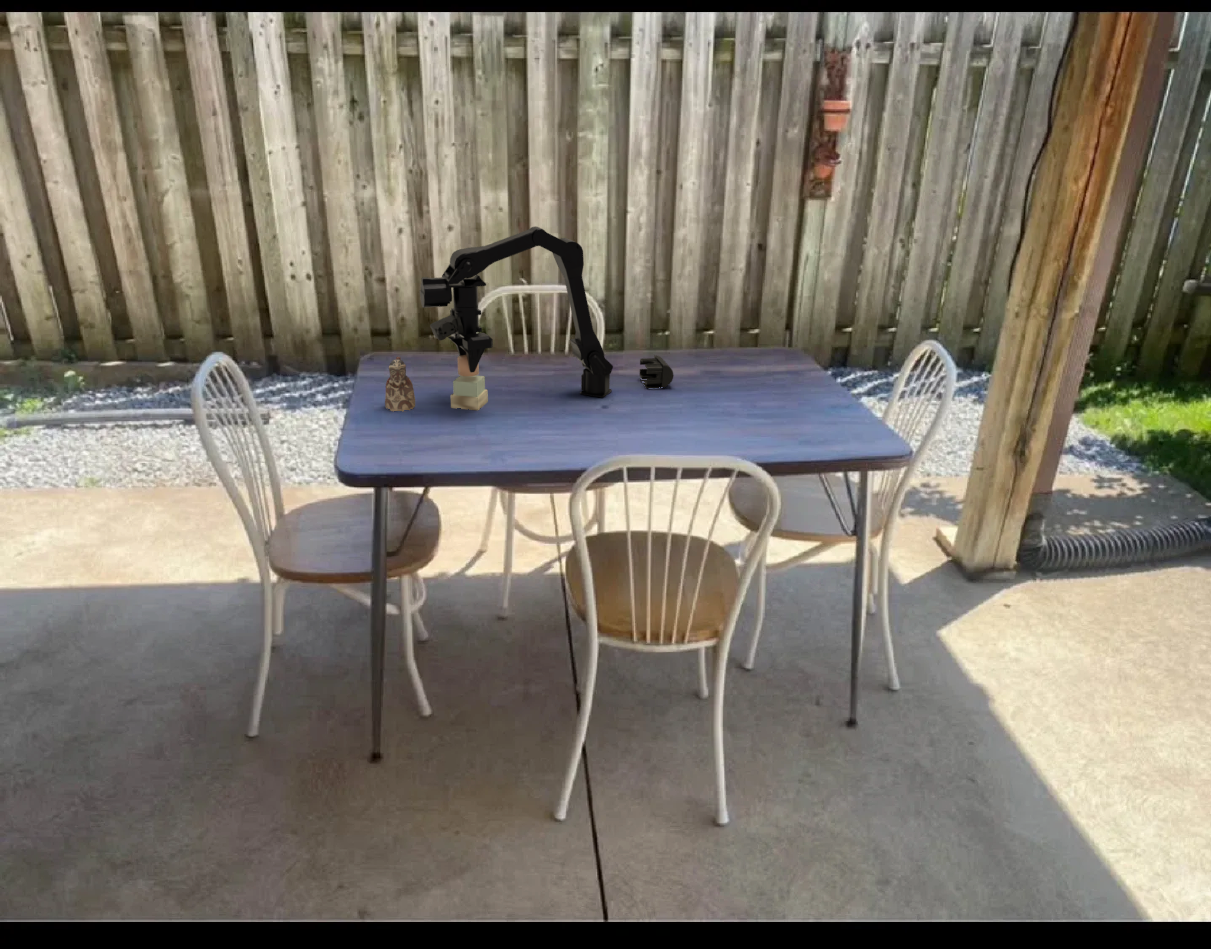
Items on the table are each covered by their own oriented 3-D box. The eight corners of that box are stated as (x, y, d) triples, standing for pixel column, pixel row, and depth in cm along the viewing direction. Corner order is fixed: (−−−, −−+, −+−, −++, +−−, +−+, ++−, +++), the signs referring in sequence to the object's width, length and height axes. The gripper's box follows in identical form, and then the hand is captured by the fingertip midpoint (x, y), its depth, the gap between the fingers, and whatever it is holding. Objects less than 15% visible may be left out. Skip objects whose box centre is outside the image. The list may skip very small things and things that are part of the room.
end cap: (672, 389, 232) (674, 364, 229) (646, 390, 230) (648, 365, 228) (664, 378, 241) (665, 354, 238) (638, 379, 239) (639, 355, 237)
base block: (487, 402, 218) (487, 389, 217) (478, 411, 212) (477, 397, 210) (461, 400, 219) (460, 387, 218) (451, 408, 213) (450, 395, 212)
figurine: (382, 411, 209) (378, 362, 205) (389, 401, 216) (386, 354, 211) (411, 412, 209) (408, 363, 205) (418, 402, 216) (415, 355, 211)
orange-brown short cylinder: (482, 372, 213) (482, 356, 212) (472, 377, 209) (471, 361, 208) (465, 369, 215) (464, 353, 214) (454, 374, 211) (453, 358, 209)
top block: (484, 389, 216) (484, 376, 215) (477, 397, 211) (477, 383, 210) (461, 387, 217) (461, 374, 216) (453, 395, 212) (453, 381, 210)
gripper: (420, 300, 210) (424, 363, 216) (445, 316, 195) (449, 383, 201) (464, 296, 215) (467, 358, 221) (492, 312, 199) (494, 378, 206)
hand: (468, 369), depth 212 cm, fingers closed on orange-brown short cylinder, 5 cm apart
